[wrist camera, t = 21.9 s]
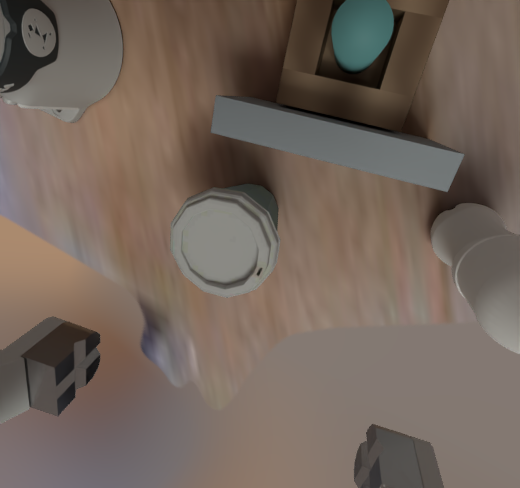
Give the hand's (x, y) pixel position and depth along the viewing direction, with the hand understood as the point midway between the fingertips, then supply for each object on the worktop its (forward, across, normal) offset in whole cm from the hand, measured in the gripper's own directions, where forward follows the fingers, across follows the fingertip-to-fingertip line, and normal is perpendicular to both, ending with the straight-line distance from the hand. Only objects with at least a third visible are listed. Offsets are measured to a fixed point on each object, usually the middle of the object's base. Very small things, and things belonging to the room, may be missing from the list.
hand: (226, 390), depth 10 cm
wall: (+34, -1, -5) cm, 34 cm away
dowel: (+32, -1, -13) cm, 35 cm away
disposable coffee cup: (+34, +6, +6) cm, 35 cm away
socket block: (+34, -1, -13) cm, 36 cm away
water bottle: (+34, -18, +2) cm, 39 cm away
